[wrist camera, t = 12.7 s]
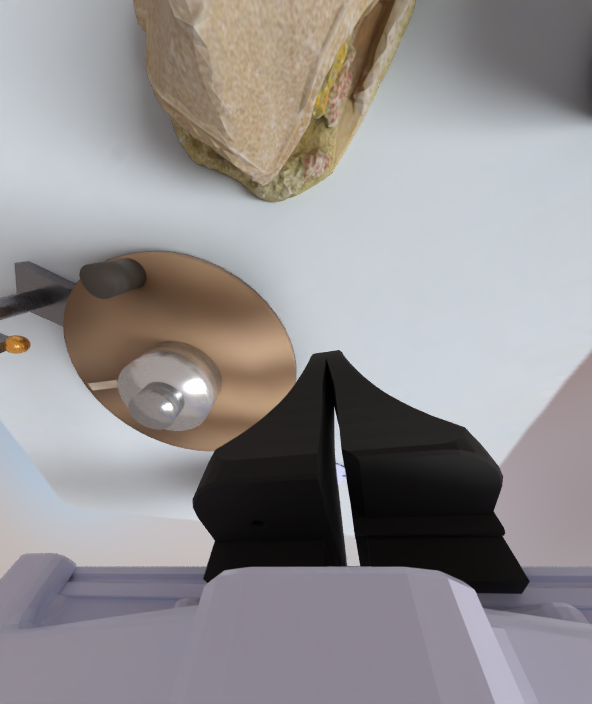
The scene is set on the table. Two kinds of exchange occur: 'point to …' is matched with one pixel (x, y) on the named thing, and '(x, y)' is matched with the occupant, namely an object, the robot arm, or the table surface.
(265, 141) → the ceramic model
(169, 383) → the cover
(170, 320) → the turntable
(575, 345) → the table surface
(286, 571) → the robot arm
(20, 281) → the grey bent lever
